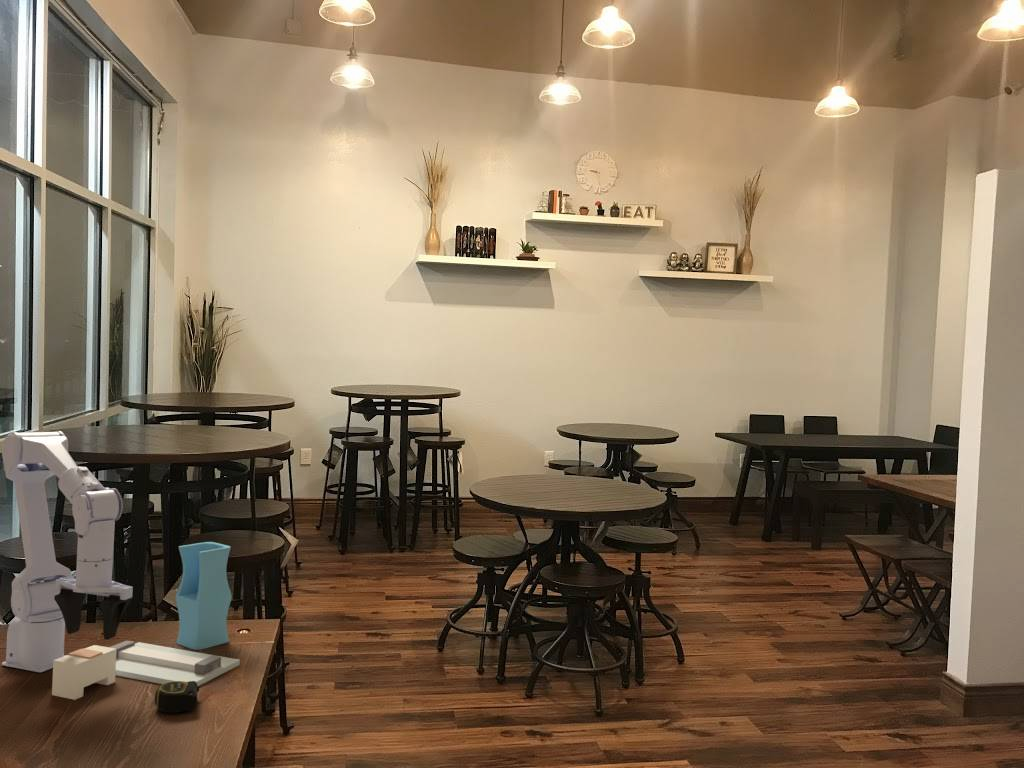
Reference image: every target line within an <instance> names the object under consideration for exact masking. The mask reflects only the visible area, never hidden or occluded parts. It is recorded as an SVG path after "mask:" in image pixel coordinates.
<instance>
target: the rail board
mask: <svg viewBox="0 0 1024 768" xmlns="http://www.w3.org/2000/svg"><path fill="white" fill-rule="evenodd" d="M108 647H109V648H114V649H116V671H115V676H118V677H124V678H127V679H133V680H139V681H143V682H148V683H155V684H159V685H163V684H165V683H168V682H173V681H183V682H189V681H195V682H197V686H200V687H201V685H204V684H205V683H208V682H209V681H212V680H213V679H215V678H217V677H219V676H221V675H223V674H224V673H227V672H229V671H230V670H233V669H235V668H236V667H238V666H240V664H241V662H240V661H241V660H240V659H238V658H234V657H233V658H231V657H226V656H221V655H214V654H209V653H204V652H198V651H191V650H187V649H179V648H173V647H168V646H163V645H157V644H153V643H152V644H151V643H146V642H140V641H138V642H135V641H133V640H124V641H122V642H121V641H120V642H118V643H116V644H114V645H111V646H108Z"/></svg>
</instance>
